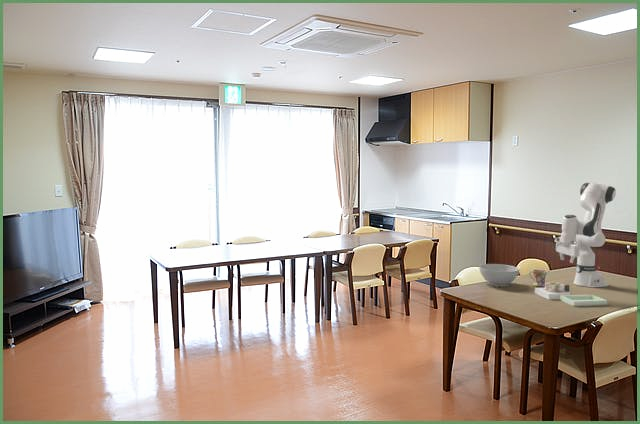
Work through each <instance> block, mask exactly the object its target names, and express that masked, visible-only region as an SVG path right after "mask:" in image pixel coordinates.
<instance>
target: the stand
mask: <svg viewBox="0 0 640 424" xmlns="http://www.w3.org/2000/svg"><path fill="white" fill-rule="evenodd" d="M534 294H535V295H538V296H539V297H542V298H544V299H546V300H548V301H549V300H550V301H551V300H560V296H561V295H571V293H570V292H569V291H566V292H548V291H545V287H534Z"/></svg>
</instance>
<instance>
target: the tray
mask: <svg viewBox="0 0 640 424" xmlns="http://www.w3.org/2000/svg"><path fill="white" fill-rule="evenodd" d="M559 301H561V302H563V303H566V304H568V305H570V306H572V307H594V306H595V307H596V306H597V307H599V306H608V300H607V299H604V298H602V297H599V296H597V295H594V294H572V295H561V296H560V299H559Z"/></svg>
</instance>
